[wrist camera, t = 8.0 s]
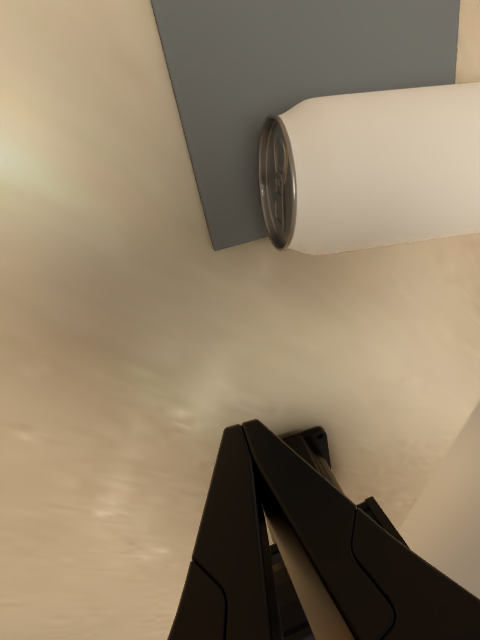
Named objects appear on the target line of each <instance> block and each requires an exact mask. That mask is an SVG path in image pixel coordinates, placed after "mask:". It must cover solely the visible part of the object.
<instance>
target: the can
mask: <svg viewBox="0 0 480 640" xmlns="http://www.w3.org/2000/svg"><path fill="white" fill-rule="evenodd" d="M258 173H259V189H260V198H261V205H262V211H263V217H264V221H265V225H266V229H267V232H268V235H269V238H270V240H271V242H272V244H273V246H274V247H275V248H276V249H277V250H278V251H285V250H286V249H293V250H297V251H299V252H302V253H305V254H309V255H324V254H333V253H340V252H347V251H355V250H362V249H369V248H376V247H382V246H389V245H396V244H403V243H410V242H417V241H424V240H430V239H437V238H444V237H451V236H457V235H464V234H470V233H477V232H480V82H474V83H463V84H451V85H440V86H429V87H418V88H407V89H396V90H385V91H374V92H364V93H353V94H343V95H333V96H324V97H316V98H311V99H306V100H304V101H302V102H300V103H299V104H297V105H295V106H294V107H292V108H291V109H289V110H288V111H287V112H285V113H283V114H281V115H277V114H274V113H272V114H269V115H268V116H267V117H266V119H265V121H264V123H263V126H262V130H261V135H260V142H259V156H258Z"/></svg>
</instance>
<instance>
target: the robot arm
mask: <svg viewBox="0 0 480 640" xmlns="http://www.w3.org/2000/svg"><path fill="white" fill-rule="evenodd" d="M319 434H320V435H319ZM263 510H264V512H263ZM264 513H265V516H264ZM265 517H266V520H267V523H268V527H269V530H270V533H271V537H272V540H273V543H274V544H272V545H270V546H269V540H268V534H267V527H266V522H265ZM167 640H480V599H478V598H477V597H476V596H474V595H473V594H471V593H470V592H469V591H467V590H466V589H464V588H463V587H462V586H460V585H459V584H457V583H456V582H454V581H453V580H451V579H450V578H449V577H447V576H446V575H445V574H443V573H442V572H440V571H439V570H437V569H436V568H435V567H433V566H432V565H431V564H429V563H428V562H426V561H425V560H423V559H422V558H421V557H419V556H418V555H417V554H415V553H414V552H413V551H411V550H410V548H409V547H408V546H407V544H406V543H405V541H404V540H403V538H402V537H401V536H400V534H399V533H398V531H397V530H396V529H395V527H394V526H393V524H392V523H391V522H390V520H389V519H388V517H387V516H386V515H385V513H384V512H383V510H382V509H381V508H380V506H379V505H378V503H377V502H376V501H375V499H374V498H373V496H371V497H369V498H367V499H365V501H364V502H362V503H360V504H358V505H355V504H354V503H353V502H352V501H351V500H349V499H348V498H347V497H346V496H345V495H344V493H343V491H342V489H341V488H340V486H339V484H338V482H337V480H336V478H335V476H334V475H333V473H332V471H331V465H330V457H329V450H328V442H327V435H326V432H325V431H324V429H323V428H316V429H313V430H310V431H307V432H304V433H301V434H298V435H294V436H291V437H288V438H285V439H282V440H281V439H280V438H279V437H277V436H276V435H275V434H274V433H273V432H272V431H271V430H269V429H268V428H267V427H266V426H265V425H264V424H263V423H261V422H260V421H259V420H257V419H254V420H250V421H247V422H243V423H242V426H241V425H240V424H236V425H232V426H229V427H226V428H225V429H224V431H223V435H222V439H221V443H220V447H219V451H218V455H217V459H216V463H215V467H214V471H213V475H212V479H211V483H210V487H209V491H208V495H207V499H206V503H205V507H204V511H203V515H202V519H201V523H200V527H199V530H198V534H197V538H196V542H195V546H194V550H193V554H192V561H191V562H190V565H189V569H188V573H187V577H186V581H185V585H184V588H183V592H182V595H181V599H180V602H179V606H178V609H177V613H176V616H175V619H174V622H173V625H172V628H171V631H170V634H169V636H168V639H167Z"/></svg>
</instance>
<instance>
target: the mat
mask: <svg viewBox="0 0 480 640" xmlns="http://www.w3.org/2000/svg"><path fill="white" fill-rule="evenodd" d="M151 3H152V7H153V11H154V15H155V19H156V23H157V27H158V31H159V35H160V38H161V42H162V46H163V50H164V54H165V58H166V62H167V66H168V70H169V74H170V78H171V82H172V86H173V90H174V94H175V98H176V102H177V106H178V110H179V114H180V118H181V121H182V125H183V129H184V133H185V137H186V141H187V145H188V149H189V153H190V157H191V161H192V165H193V169H194V173H195V177H196V181H197V185H198V189H199V193H200V197H201V200H202V204H203V208H204V212H205V216H206V220H207V224H208V228H209V232H210V236H211V240H212V244H213V248H214V250H215V251H216V250H220V249H224V248H228V247H231V246H235V245H239V244H242V243H246V242H250V241H253V240H257V239H261V238H264V237H268V236H269V235H268V232H267V229H266V225H265V221H264V217H263V211H262V205H261V198H260V189H259V173H258V156H259V142H260V135H261V130H262V126H263V123H264V121H265V119H266V117H267V116H268V115H269V114H272V113H274V114H277V115H281V114H283V113H285V112H287V111H288V110H289V109H291V108H292V107H294V106H295V105H297V104H299V103H300V102H302V101H304V100H306V99H311V98H316V97H324V96H333V95H343V94H353V93H364V92H374V91H385V90H396V89H407V88H418V87H429V86H440V85H451V84H455V76H456V60H457V43H458V26H459V10H460V0H151Z"/></svg>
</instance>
